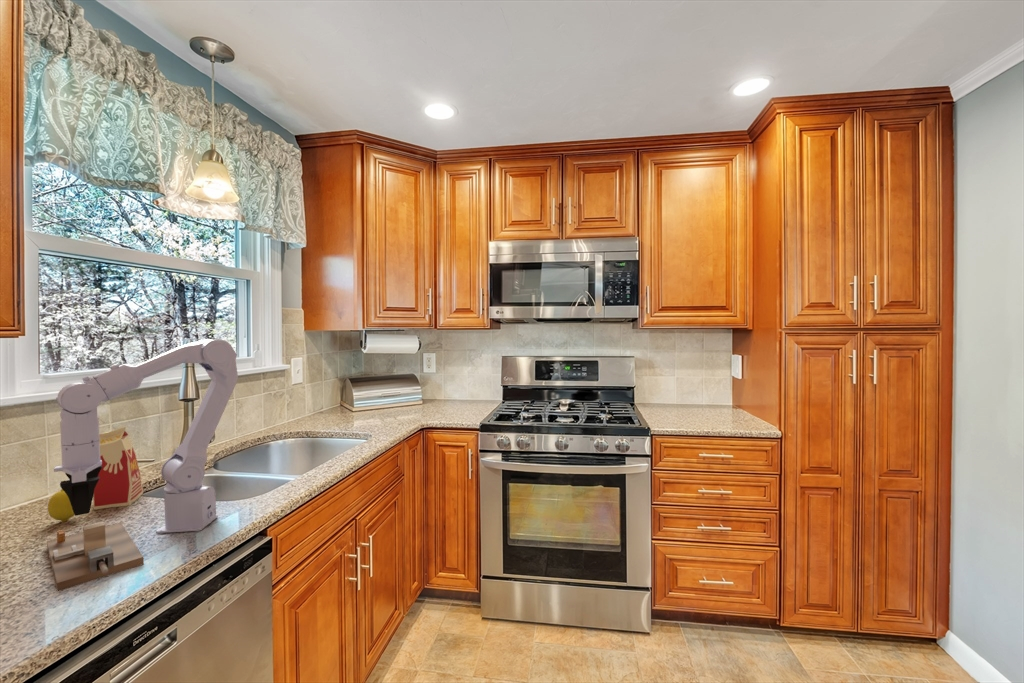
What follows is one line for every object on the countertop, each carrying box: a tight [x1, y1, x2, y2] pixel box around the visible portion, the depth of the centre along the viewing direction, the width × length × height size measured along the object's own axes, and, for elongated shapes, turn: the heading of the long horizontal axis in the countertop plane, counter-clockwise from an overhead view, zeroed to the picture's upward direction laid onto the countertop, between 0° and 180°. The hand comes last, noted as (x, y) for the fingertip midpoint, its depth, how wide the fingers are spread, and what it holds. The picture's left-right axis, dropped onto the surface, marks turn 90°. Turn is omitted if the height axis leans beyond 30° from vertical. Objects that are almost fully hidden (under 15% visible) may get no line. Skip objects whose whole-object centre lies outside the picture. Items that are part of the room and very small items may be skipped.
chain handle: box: [53, 521, 108, 574], centre depth 87 cm, size 18×7×5 cm, turn 48°
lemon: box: [47, 488, 75, 523], centre depth 110 cm, size 6×6×8 cm
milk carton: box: [92, 425, 144, 510], centre depth 122 cm, size 9×9×20 cm
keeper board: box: [46, 522, 145, 592], centre depth 93 cm, size 24×12×4 cm, turn 48°
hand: (83, 508), depth 94 cm, fingers open, 7 cm apart
